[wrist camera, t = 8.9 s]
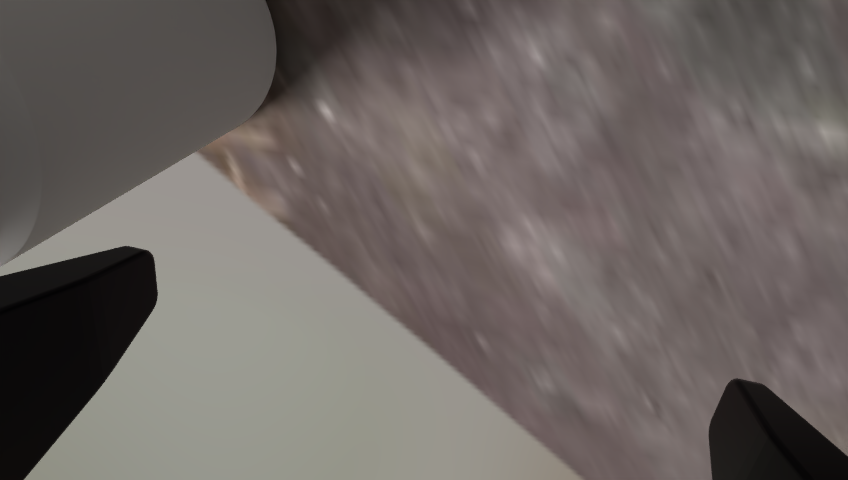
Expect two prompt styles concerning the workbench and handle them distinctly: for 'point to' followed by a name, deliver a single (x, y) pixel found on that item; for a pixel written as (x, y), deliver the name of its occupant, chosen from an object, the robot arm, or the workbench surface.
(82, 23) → the beverage can
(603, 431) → the workbench surface
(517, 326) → the workbench surface
